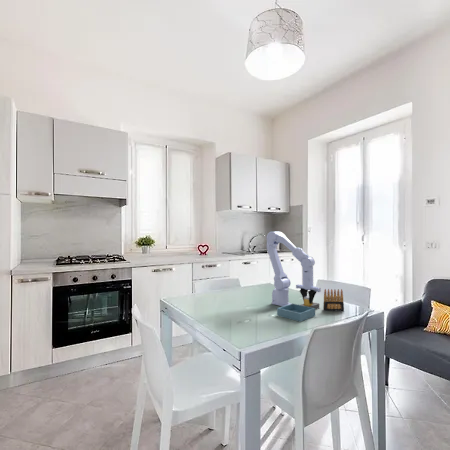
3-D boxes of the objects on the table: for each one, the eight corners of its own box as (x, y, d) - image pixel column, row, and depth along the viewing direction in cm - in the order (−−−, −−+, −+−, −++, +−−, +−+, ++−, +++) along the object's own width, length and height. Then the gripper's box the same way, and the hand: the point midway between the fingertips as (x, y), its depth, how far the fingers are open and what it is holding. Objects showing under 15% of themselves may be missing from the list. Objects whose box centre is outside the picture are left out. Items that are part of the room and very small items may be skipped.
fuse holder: (296, 310, 160) (296, 305, 160) (309, 305, 169) (309, 300, 169) (306, 312, 156) (306, 307, 156) (319, 307, 165) (319, 302, 165)
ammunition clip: (324, 310, 159) (323, 289, 160) (323, 309, 161) (323, 288, 161) (344, 311, 158) (343, 289, 159) (343, 310, 160) (342, 288, 161)
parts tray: (277, 315, 151) (277, 308, 151) (292, 310, 161) (292, 303, 161) (300, 321, 141) (300, 313, 141) (315, 315, 150) (315, 308, 150)
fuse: (303, 309, 162) (303, 296, 162) (307, 308, 165) (307, 295, 165) (308, 310, 160) (308, 297, 160) (312, 309, 163) (312, 296, 163)
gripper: (323, 279, 160) (323, 303, 160) (300, 276, 171) (300, 299, 171) (316, 280, 155) (317, 306, 155) (293, 277, 166) (294, 301, 166)
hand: (308, 302), depth 163 cm, fingers closed on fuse, 3 cm apart
